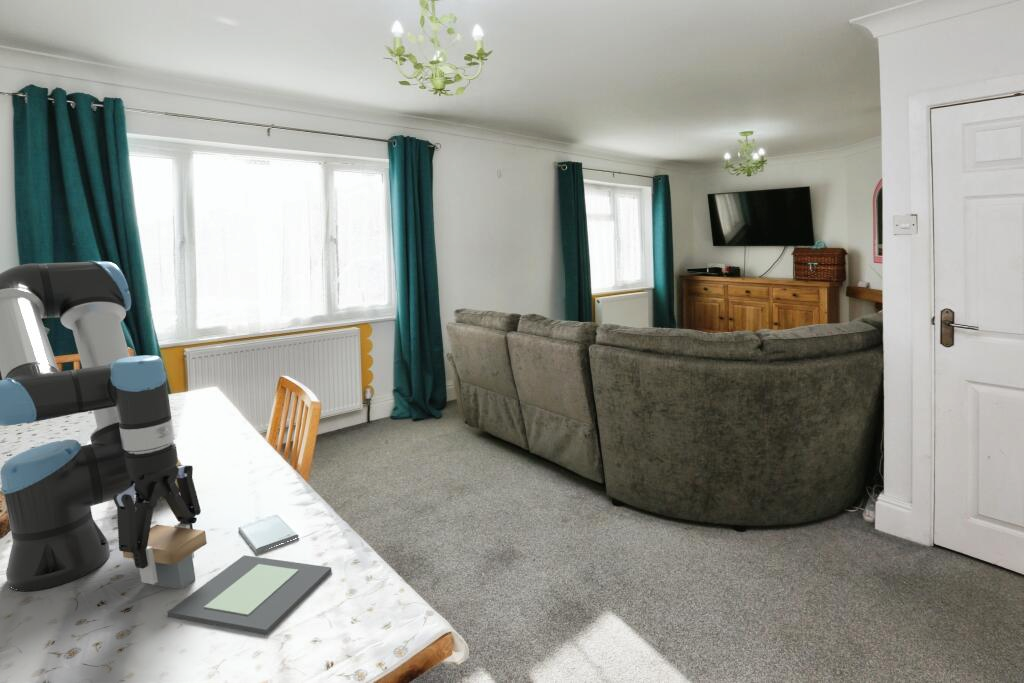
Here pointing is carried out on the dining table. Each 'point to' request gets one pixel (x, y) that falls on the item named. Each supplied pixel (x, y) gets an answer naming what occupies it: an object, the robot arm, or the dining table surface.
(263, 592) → the mat
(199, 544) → the card box
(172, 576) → the stand
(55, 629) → the dining table surface
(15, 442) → the dining table surface
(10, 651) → the dining table surface
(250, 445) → the dining table surface
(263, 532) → the hard drive
